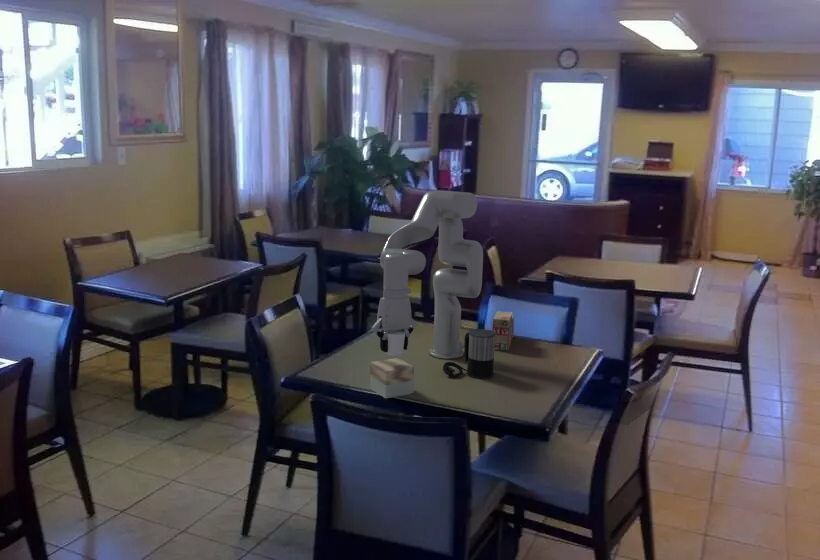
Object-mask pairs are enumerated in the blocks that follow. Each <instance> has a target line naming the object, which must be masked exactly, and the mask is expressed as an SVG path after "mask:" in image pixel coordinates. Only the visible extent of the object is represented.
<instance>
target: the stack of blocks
mask: <svg viewBox="0 0 820 560" xmlns="http://www.w3.org/2000/svg"><path fill="white" fill-rule="evenodd" d="M514 329H515V313H513V312H512V311H500V310H496V312H495V315H494V317H493V318H492V330H491V331H494V332H496V335H495V348H494V349H495V350H494V351H498V350H508V351H509V349H510V347H511V343H512V341H513V339H512V338H514ZM511 340H512V341H511ZM509 346H510V347H509Z"/></svg>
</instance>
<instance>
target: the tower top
mask: <svg viewBox="0 0 820 560" xmlns="http://www.w3.org/2000/svg"><path fill="white" fill-rule="evenodd" d="M369 364H370V366H369V367H370V368H369V370H370V371H369V376H371V377H373V378H374V379H376V380H378V381H379V382H381V383H383V384H384V385H391V384H397V383H402V382H408V381H413V380H414V381H415V366H414V365H412V364H410V363H409V362H406V361H405V360H403V359H400V358H399V357H395V358H388V359H383V360H381V359H380V360H376V361H370V362H369Z"/></svg>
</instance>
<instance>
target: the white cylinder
mask: <svg viewBox="0 0 820 560" xmlns="http://www.w3.org/2000/svg"><path fill="white" fill-rule="evenodd" d="M404 339H405V331H404V330H394V331H389V333H388V335H387V338H386V340H388V351H387V352H384V354H385V355H388V356H394V357H395V356H401V355H403V353H404V349H403V347H404Z"/></svg>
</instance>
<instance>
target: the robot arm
mask: <svg viewBox="0 0 820 560" xmlns="http://www.w3.org/2000/svg"><path fill="white" fill-rule="evenodd" d="M477 208H478V200H477V198H476V196H475V194H474V193H471V192H466V191H465V192H464V191H463V192H462V191H453V190H452V191H450V190H434V191H433V190H431V191H428V192H426V193H425V194H424V195H423V196H422V197H421V200H420V202H419V204H418V206H417V208H416V211H415V213H414V214H413V217H412V219H411V221H410V222H409V223H407V224H405V225H403V226H401V227H400V228H398V229H397V230H396V231H394V232H393V233H391V235H390V236H389V237H388V238H387V240H386V243H385V244H384V246H383V248H382V251H381V253H380V256H379V263H380V266H381V268H382V269H383V284H382V285H383V291H382V297H380V299H379V302H378V303H379V304H378V307H377V314H376V315H377V317H376V322H375V323H374V324H373V325H372V326H371V331H372V332H374V333H375V335H376V336H377V337H378V338H379V349H380V350H381V351H382V352H383V353H385V352H387V351H388V340H386V338H387V335H388V333H389V331H394V330H404V331H405V339H404V347H403V350H405V351H407V350H408V346H409V338H410V336H411V334H412V333H413V331H414V329H416V328H417V326H418V323H417V322H416V320H415V319H413V317H412V307H411V301H410V297H409V294H411V293H412V289H411V288H409V276H411V275H418V274H420V273H421V272H423V271H424V269H425V267H426V264H427V258H426V255H425V254H424V253H423V252H421V251H419V250H417V249H415V250H414V249H406V248H404V247H406V246H408V245H409V246H410V245H411V244H414V243H418V242H422V241H425V240H428V239H430V238H432V237H433V236H434V235H435V232H436V231H437V228H438V247H437V250H438V251H437V255H438V256H437V257H438V260H439V262H440V263H441V264H443V265H448V266H452V267H453V266H455V267H462V268H463V267H464V268H466V270H465V269H458V268H451V267H450V268H448V267H447V268H445V267H443V268H439V269H438V270H436V271H435V272H434V274H433V276H432V286H433V293H434V315H433V318H434V322H433V323H434V324H433V342H432V343H433V346H432V347H431V348H429V349H428V354H429V355H430V356H432V357H433V358H438V359H446V360H447V359H448V360H449V359H451V360H453V359H458V358H461V357H464V350H463V349H464V342H465V341H462V340H461V323H462V322H461V319H462V318H461V317H462V306H461V304H460V300H459V299H458V297H461V298H467V299H468V298H469V299H470V298H471V299H475V298H477V297H478V296H479V295H480V294H481V291H482V287H483V285H482V284H483V267H484V266H483V264H484V249H483V246H482V245H481V243H480V241H479V242H478V241H477V240H471V239H465V238H464V224H463V221H462V219H469V218H472V217H473V216H475V214H476V211H477Z"/></svg>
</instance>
